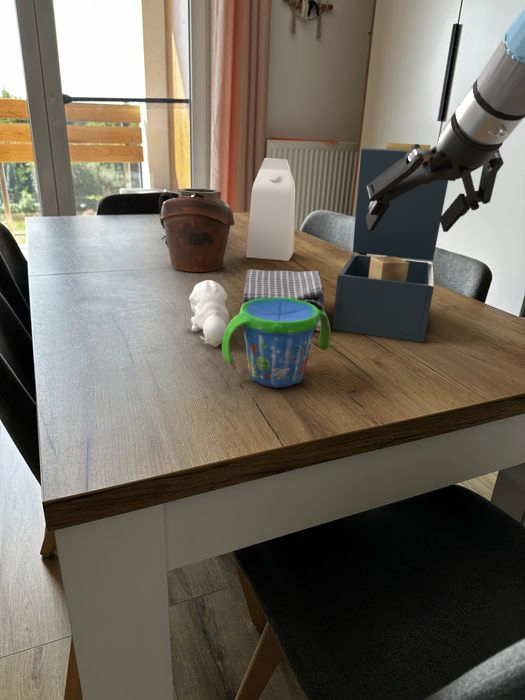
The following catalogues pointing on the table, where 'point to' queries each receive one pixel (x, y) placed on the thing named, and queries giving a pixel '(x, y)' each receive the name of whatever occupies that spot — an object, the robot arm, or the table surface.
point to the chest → (383, 301)
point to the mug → (189, 193)
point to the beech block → (388, 268)
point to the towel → (285, 287)
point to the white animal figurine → (209, 311)
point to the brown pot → (196, 231)
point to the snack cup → (277, 338)
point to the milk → (272, 212)
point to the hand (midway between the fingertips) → (406, 224)
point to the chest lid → (398, 210)
